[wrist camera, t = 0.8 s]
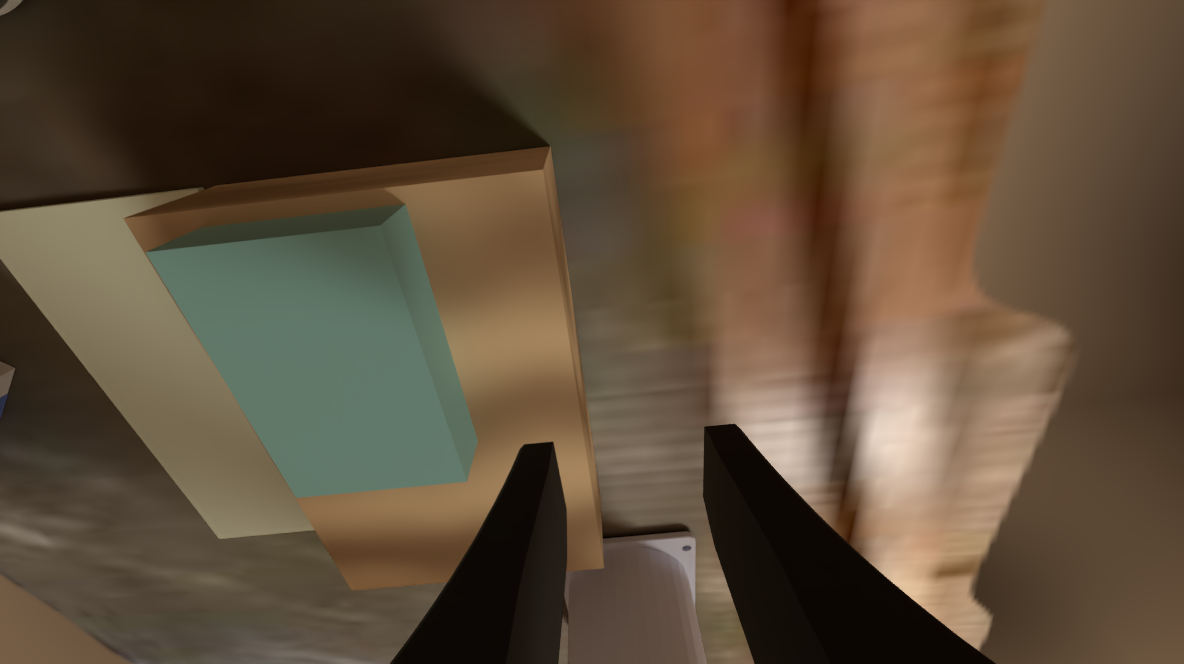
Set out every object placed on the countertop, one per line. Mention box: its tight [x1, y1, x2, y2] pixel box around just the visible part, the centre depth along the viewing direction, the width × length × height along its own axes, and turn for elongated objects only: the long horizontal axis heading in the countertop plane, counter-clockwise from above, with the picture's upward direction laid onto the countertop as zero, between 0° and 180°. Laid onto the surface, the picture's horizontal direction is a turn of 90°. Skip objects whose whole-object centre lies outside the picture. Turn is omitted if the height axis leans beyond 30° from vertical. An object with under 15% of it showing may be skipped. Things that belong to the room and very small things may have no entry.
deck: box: [123, 146, 604, 591], centre depth 19 cm, size 18×12×4 cm, turn 6°
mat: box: [0, 187, 314, 539], centre depth 21 cm, size 18×8×1 cm, turn 6°
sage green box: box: [145, 204, 478, 498], centre depth 15 cm, size 9×6×2 cm, turn 6°
